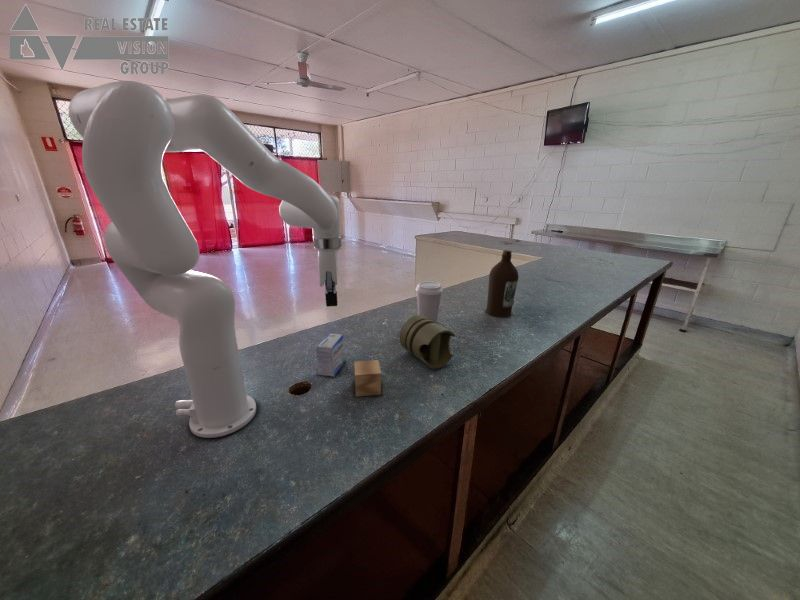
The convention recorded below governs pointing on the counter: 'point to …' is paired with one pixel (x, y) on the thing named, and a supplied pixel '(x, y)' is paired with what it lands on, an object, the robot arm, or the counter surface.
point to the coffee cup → (429, 299)
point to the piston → (427, 341)
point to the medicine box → (330, 354)
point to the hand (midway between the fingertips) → (331, 305)
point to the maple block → (367, 378)
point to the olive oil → (502, 287)
